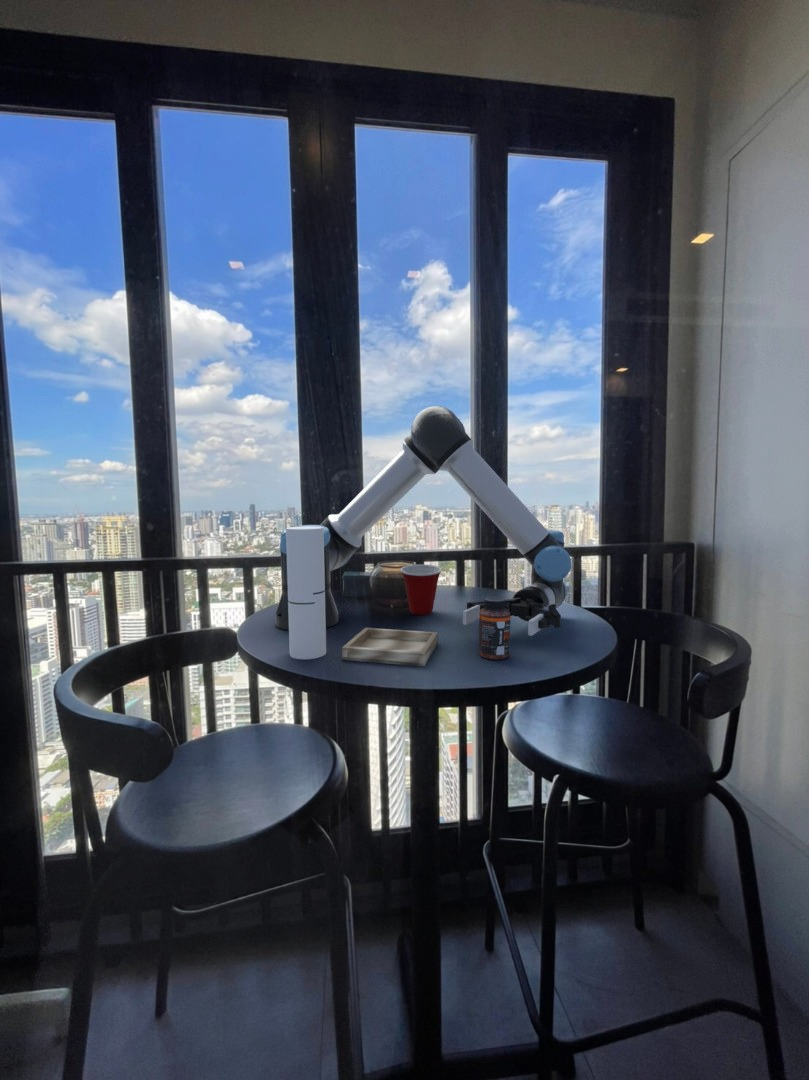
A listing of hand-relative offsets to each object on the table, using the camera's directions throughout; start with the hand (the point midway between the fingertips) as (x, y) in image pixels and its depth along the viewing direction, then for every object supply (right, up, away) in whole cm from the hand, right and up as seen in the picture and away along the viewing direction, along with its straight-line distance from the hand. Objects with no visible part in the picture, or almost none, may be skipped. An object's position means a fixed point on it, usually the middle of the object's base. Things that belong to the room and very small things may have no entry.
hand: (496, 623), depth 96 cm
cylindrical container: (-37, -7, +3) cm, 38 cm away
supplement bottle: (0, -7, +1) cm, 7 cm away
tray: (-20, -6, +4) cm, 21 cm away
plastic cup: (-13, -3, +35) cm, 37 cm away
